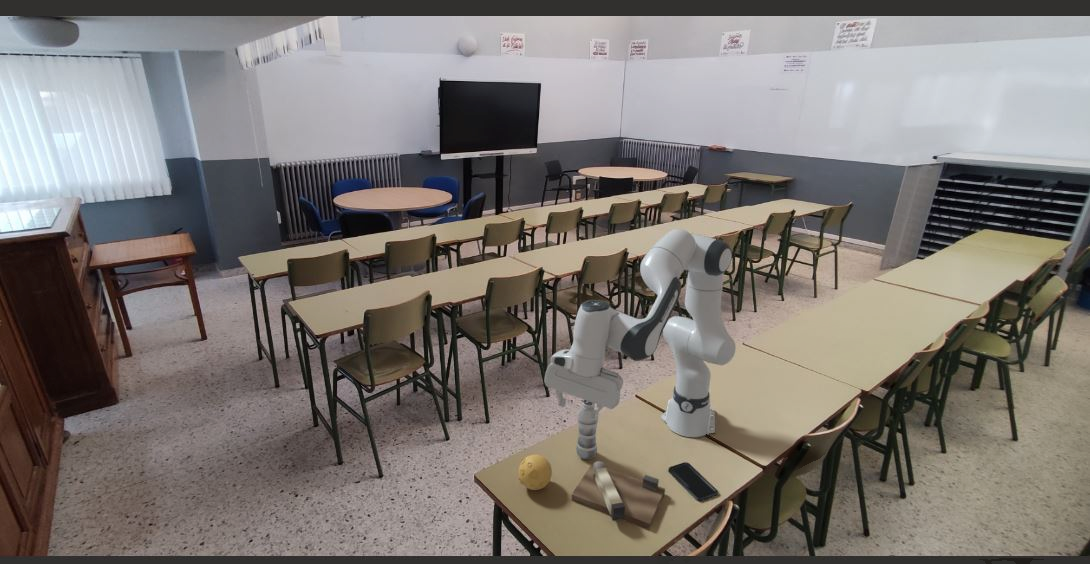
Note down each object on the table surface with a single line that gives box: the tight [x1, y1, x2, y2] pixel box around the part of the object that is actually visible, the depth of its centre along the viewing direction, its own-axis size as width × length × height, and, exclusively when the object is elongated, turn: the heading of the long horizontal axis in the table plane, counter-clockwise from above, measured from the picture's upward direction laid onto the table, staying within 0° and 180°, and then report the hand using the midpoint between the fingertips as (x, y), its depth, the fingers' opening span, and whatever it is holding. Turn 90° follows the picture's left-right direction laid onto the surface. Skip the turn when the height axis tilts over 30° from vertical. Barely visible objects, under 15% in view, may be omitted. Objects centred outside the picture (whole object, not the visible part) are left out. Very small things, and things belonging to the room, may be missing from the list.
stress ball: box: [517, 453, 553, 491], centre depth 153 cm, size 10×10×10 cm
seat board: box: [570, 463, 666, 530], centre depth 150 cm, size 15×23×5 cm, turn 62°
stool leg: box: [593, 461, 625, 522], centre depth 148 cm, size 19×3×4 cm, turn 12°
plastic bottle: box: [575, 399, 599, 460], centre depth 165 cm, size 6×7×20 cm
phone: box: [667, 461, 719, 502], centre depth 157 cm, size 8×1×15 cm
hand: (577, 411), depth 137 cm, fingers open, 8 cm apart
